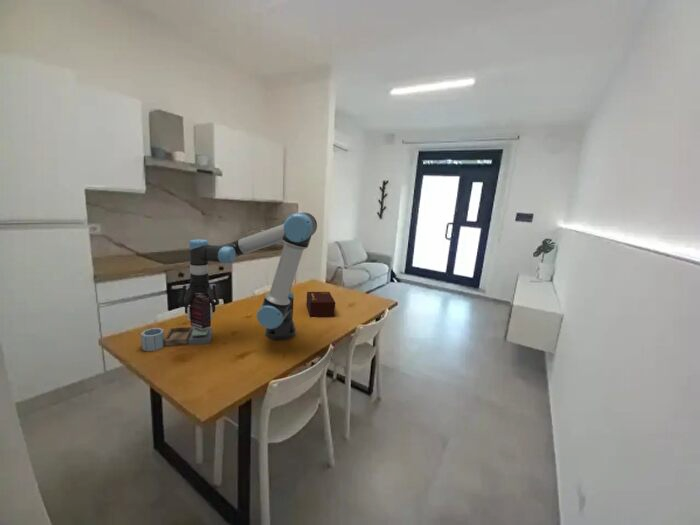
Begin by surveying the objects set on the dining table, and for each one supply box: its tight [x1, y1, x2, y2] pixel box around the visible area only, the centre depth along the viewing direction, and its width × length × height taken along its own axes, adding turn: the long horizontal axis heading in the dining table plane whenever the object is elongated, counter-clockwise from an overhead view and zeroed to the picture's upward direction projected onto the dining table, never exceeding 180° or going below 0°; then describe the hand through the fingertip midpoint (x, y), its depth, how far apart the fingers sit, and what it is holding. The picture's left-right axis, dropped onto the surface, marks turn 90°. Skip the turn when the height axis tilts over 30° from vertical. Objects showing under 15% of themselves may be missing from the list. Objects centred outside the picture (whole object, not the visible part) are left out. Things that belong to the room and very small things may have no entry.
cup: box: [140, 327, 165, 352], centre depth 132 cm, size 8×8×7 cm
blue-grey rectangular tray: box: [187, 327, 214, 346], centre depth 144 cm, size 9×12×2 cm
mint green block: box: [192, 327, 208, 336], centre depth 143 cm, size 6×10×4 cm, turn 19°
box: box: [306, 291, 336, 319], centre depth 190 cm, size 21×16×10 cm
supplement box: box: [189, 293, 212, 330], centre depth 141 cm, size 9×5×16 cm, turn 64°
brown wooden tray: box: [163, 326, 194, 348], centre depth 141 cm, size 10×14×3 cm
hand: (200, 319), depth 142 cm, fingers closed on supplement box, 9 cm apart
